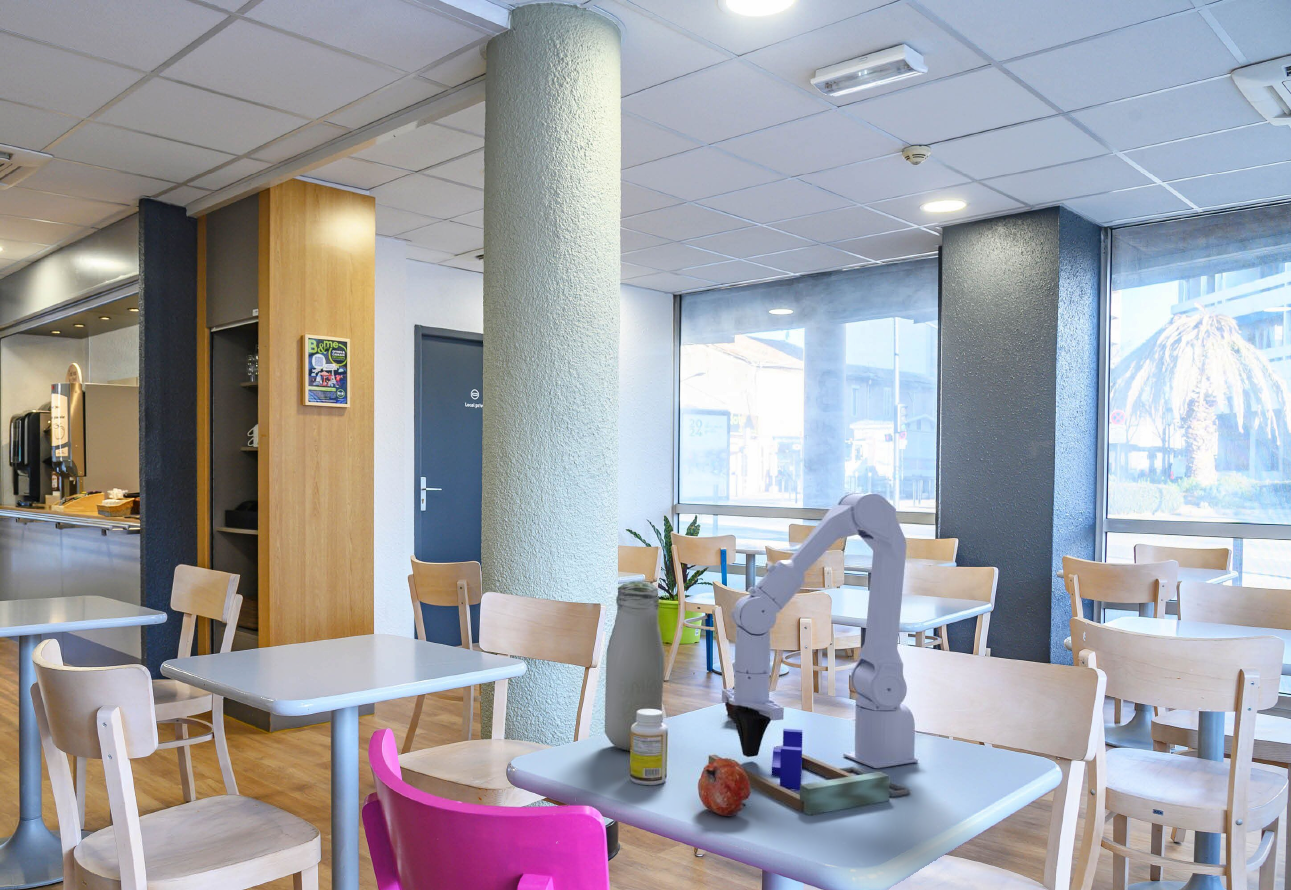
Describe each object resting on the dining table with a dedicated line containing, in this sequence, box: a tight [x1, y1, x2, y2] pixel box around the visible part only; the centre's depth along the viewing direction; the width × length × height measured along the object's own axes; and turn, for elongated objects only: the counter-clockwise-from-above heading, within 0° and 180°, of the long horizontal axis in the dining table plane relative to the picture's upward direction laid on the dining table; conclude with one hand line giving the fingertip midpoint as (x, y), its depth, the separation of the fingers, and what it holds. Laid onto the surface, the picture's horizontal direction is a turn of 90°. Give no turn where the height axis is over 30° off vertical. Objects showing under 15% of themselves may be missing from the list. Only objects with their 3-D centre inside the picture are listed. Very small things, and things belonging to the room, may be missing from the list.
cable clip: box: [771, 728, 803, 791], centre depth 141 cm, size 12×4×6 cm, turn 169°
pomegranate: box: [697, 757, 751, 817], centre depth 125 cm, size 7×7×10 cm
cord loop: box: [839, 766, 911, 798], centre depth 139 cm, size 4×13×1 cm, turn 29°
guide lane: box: [707, 745, 890, 816], centre depth 139 cm, size 15×25×4 cm, turn 29°
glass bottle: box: [604, 580, 666, 751], centre depth 155 cm, size 10×10×28 cm
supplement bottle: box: [629, 709, 669, 786], centre depth 138 cm, size 6×6×10 cm
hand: (750, 755), depth 149 cm, fingers closed
